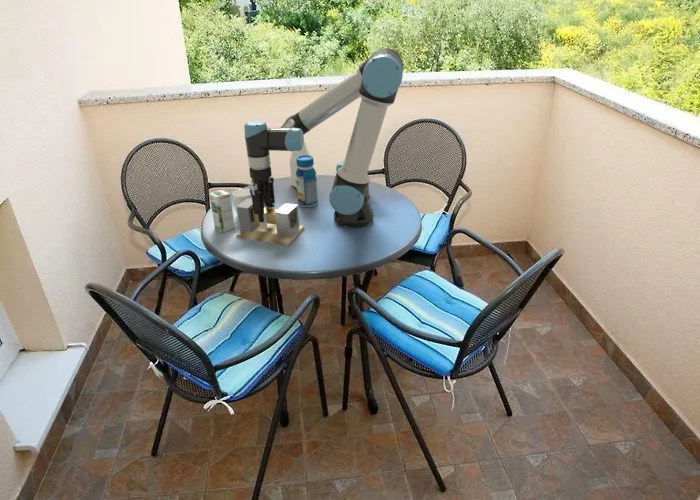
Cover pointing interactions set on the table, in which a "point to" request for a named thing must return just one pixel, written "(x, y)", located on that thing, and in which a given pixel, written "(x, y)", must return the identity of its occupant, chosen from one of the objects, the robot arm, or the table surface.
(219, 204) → the syrup box
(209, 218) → the table surface
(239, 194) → the white cup
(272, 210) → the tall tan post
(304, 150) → the wine bottle
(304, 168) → the beverage bottle
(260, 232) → the board
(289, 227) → the grey rectangular block
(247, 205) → the socket
